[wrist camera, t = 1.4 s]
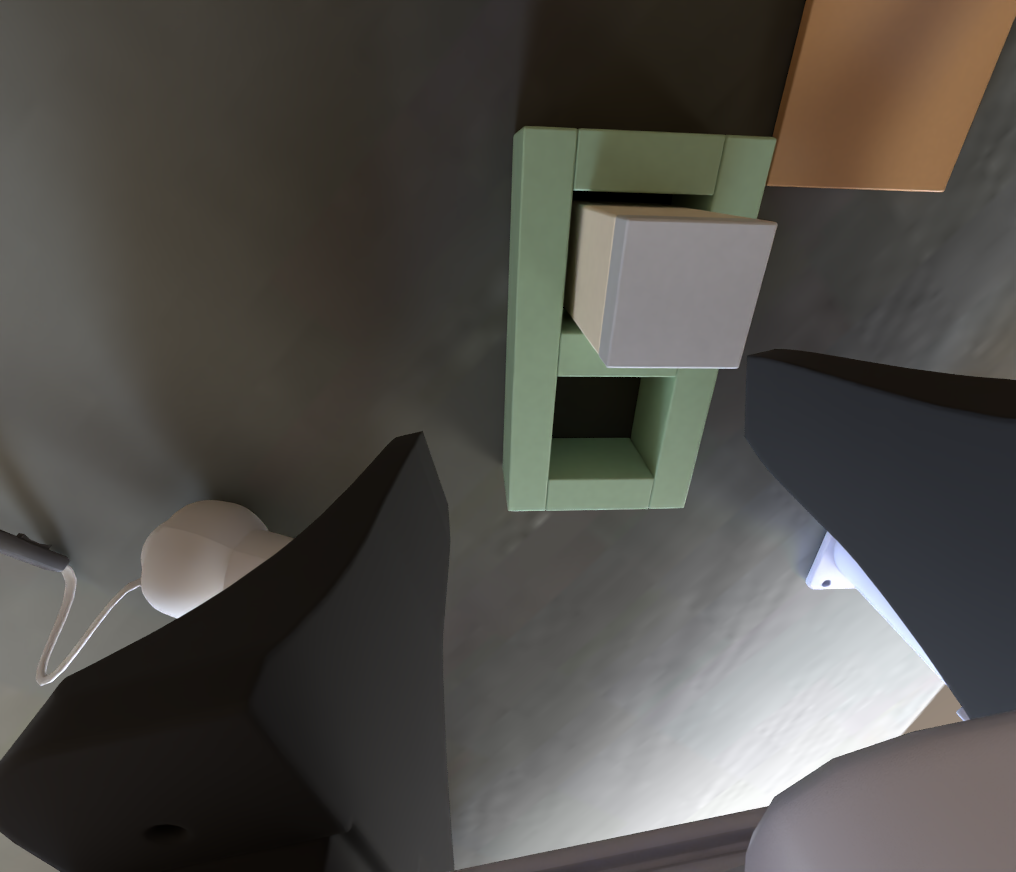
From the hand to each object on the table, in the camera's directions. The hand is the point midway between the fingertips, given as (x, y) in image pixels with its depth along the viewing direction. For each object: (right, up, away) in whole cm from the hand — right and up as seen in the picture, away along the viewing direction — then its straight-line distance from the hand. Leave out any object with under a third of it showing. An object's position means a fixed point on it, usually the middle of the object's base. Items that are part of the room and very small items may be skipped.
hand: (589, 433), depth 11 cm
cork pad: (+11, +12, +6) cm, 18 cm away
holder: (+2, +4, +10) cm, 11 cm away
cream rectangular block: (+2, +7, +8) cm, 11 cm away
